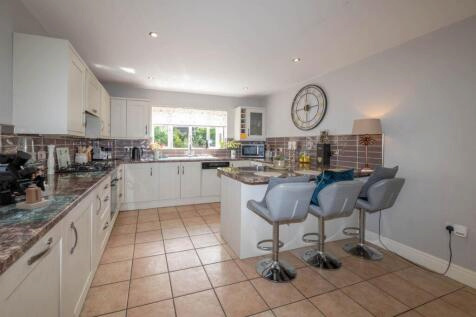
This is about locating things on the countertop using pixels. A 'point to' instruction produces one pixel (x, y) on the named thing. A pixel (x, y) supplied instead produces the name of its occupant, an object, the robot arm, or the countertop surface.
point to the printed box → (43, 194)
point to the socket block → (33, 205)
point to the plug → (33, 195)
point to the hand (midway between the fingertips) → (35, 192)
